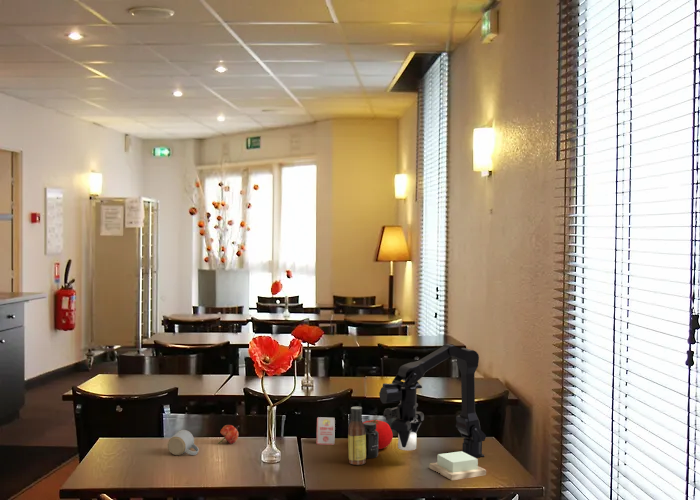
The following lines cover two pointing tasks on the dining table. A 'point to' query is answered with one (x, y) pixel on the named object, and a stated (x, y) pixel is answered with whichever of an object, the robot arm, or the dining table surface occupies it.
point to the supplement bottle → (371, 440)
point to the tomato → (383, 433)
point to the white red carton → (325, 431)
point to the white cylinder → (410, 444)
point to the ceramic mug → (182, 443)
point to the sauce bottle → (356, 438)
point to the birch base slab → (457, 475)
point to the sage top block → (457, 461)
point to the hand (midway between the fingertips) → (407, 444)
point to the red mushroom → (229, 433)
